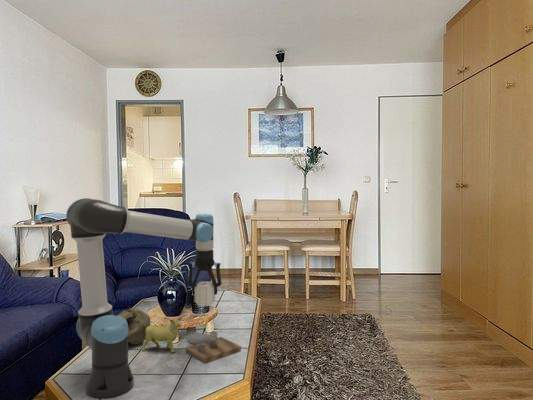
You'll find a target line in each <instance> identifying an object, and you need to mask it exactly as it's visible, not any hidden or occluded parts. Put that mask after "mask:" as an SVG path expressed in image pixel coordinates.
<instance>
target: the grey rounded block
mask: <svg viewBox="0 0 533 400" xmlns="http://www.w3.org/2000/svg"><path fill="white" fill-rule="evenodd" d="M212 287H213V283H212V281H197V284H196V302H195V303H196V306H199V307H209V306H212V305H214V303H212Z"/></svg>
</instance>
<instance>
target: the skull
mask: <svg viewBox="0 0 533 400" xmlns="http://www.w3.org/2000/svg"><path fill="white" fill-rule="evenodd" d="M149 315H150V314H147V313H146V312H145V311H144V310H143V311H142V310H139V309H137V308H135V307H134V308H133V307H130V308H128V309H126V310H123V311H122V312H120V313H119V314H117V315H116V316H121V317H123V318H124V319H125V320H126V321H127V324H128V343H129V345H130V346H131V345H132V346H133V345H138V344H140V343H141V342H142V341H144V340H145V339H146V331H145V330H146V328H147V327H148V326H151V317H150V316H149Z"/></svg>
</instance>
